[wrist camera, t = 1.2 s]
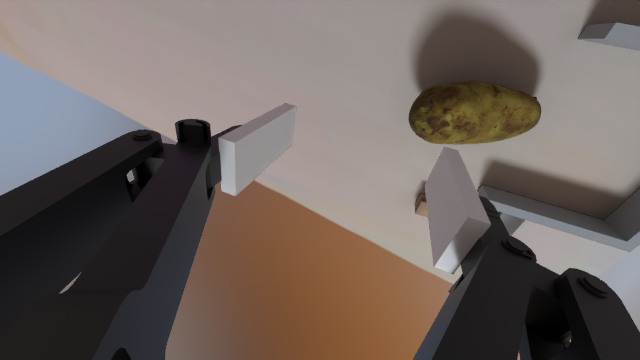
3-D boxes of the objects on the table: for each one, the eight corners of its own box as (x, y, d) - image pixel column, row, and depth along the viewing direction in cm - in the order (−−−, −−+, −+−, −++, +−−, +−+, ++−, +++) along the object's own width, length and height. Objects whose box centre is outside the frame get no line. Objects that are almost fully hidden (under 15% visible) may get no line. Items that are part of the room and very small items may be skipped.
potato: (488, 158, 32) (508, 188, 26) (399, 117, 33) (397, 136, 26) (540, 99, 27) (582, 118, 21) (436, 53, 28) (444, 57, 22)
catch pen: (587, 24, 24) (616, 22, 20) (799, 62, 21) (872, 66, 18) (477, 191, 35) (484, 207, 31) (606, 230, 32) (629, 252, 29)
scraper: (411, 210, 40) (411, 219, 38) (424, 185, 37) (425, 194, 35) (502, 240, 37) (507, 251, 35) (522, 216, 35) (529, 227, 33)
